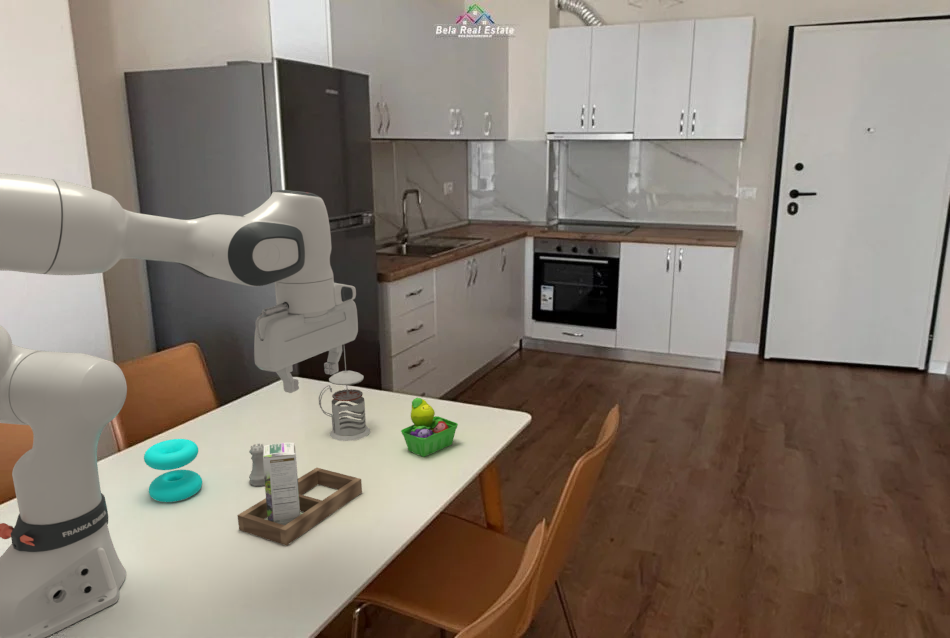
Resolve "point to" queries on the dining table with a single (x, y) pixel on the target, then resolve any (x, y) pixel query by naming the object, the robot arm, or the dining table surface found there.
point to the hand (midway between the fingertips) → (312, 381)
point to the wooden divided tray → (302, 507)
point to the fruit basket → (427, 430)
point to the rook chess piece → (257, 466)
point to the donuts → (177, 481)
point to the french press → (347, 407)
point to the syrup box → (281, 482)
